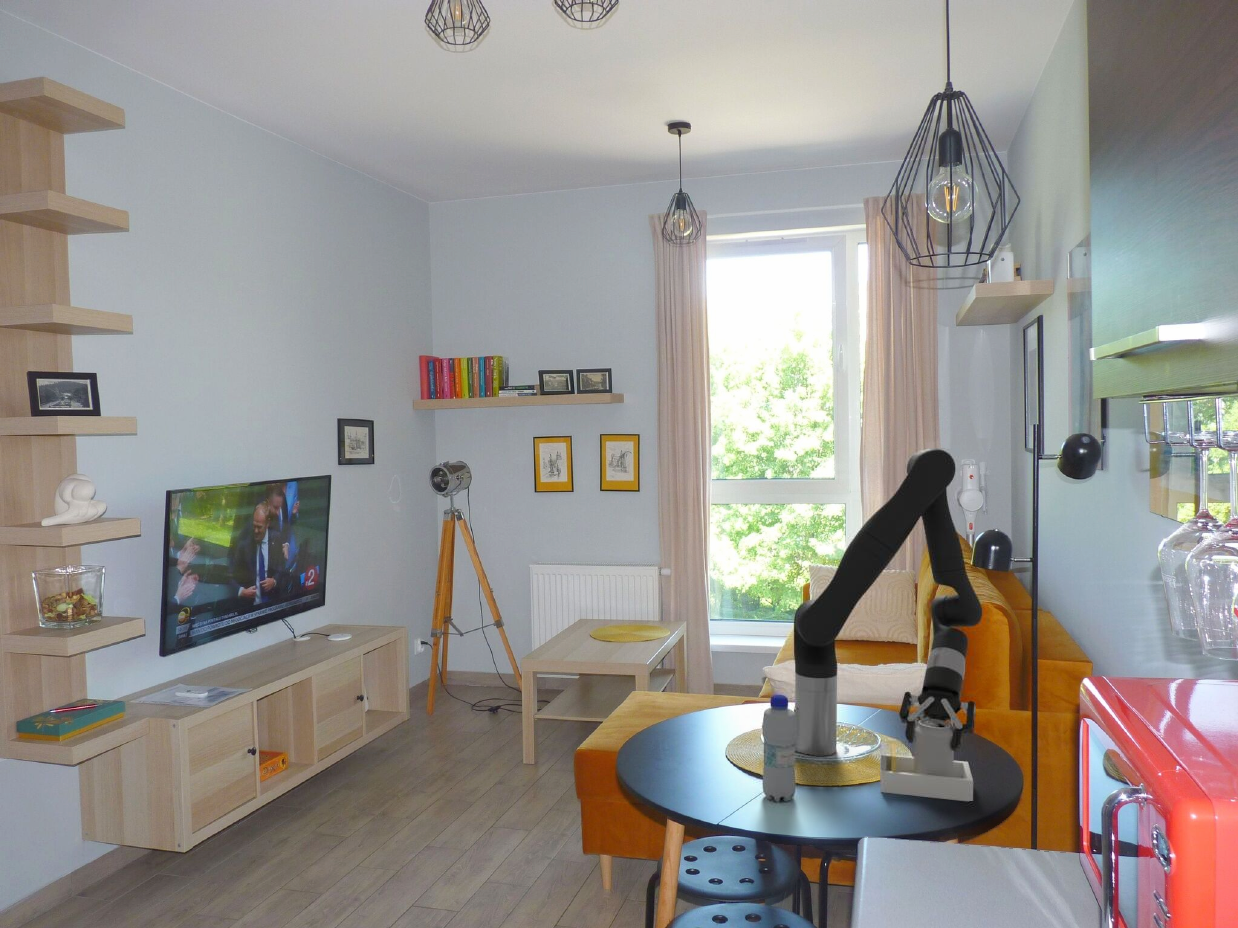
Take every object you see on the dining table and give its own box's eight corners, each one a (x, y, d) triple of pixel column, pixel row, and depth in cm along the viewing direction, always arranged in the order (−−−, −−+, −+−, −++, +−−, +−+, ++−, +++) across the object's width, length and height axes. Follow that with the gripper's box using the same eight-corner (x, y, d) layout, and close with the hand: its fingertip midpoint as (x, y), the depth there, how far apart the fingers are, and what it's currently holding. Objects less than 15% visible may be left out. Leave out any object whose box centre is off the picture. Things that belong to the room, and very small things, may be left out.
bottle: (775, 806, 170) (776, 701, 170) (754, 794, 176) (755, 692, 176) (803, 800, 174) (804, 697, 173) (782, 788, 180) (782, 688, 179)
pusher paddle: (891, 783, 179) (891, 756, 179) (890, 769, 186) (891, 743, 186) (896, 784, 179) (896, 756, 178) (895, 770, 186) (896, 743, 186)
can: (955, 790, 176) (957, 729, 176) (915, 786, 178) (917, 726, 177) (949, 776, 184) (951, 718, 183) (911, 773, 185) (912, 715, 185)
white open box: (880, 791, 178) (881, 756, 178) (880, 772, 189) (880, 739, 188) (972, 801, 173) (973, 765, 173) (967, 781, 184) (967, 746, 184)
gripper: (906, 660, 190) (892, 729, 180) (978, 669, 183) (967, 741, 173) (912, 679, 195) (898, 748, 185) (982, 689, 187) (972, 760, 178)
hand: (931, 744), depth 179 cm, fingers open, 8 cm apart
